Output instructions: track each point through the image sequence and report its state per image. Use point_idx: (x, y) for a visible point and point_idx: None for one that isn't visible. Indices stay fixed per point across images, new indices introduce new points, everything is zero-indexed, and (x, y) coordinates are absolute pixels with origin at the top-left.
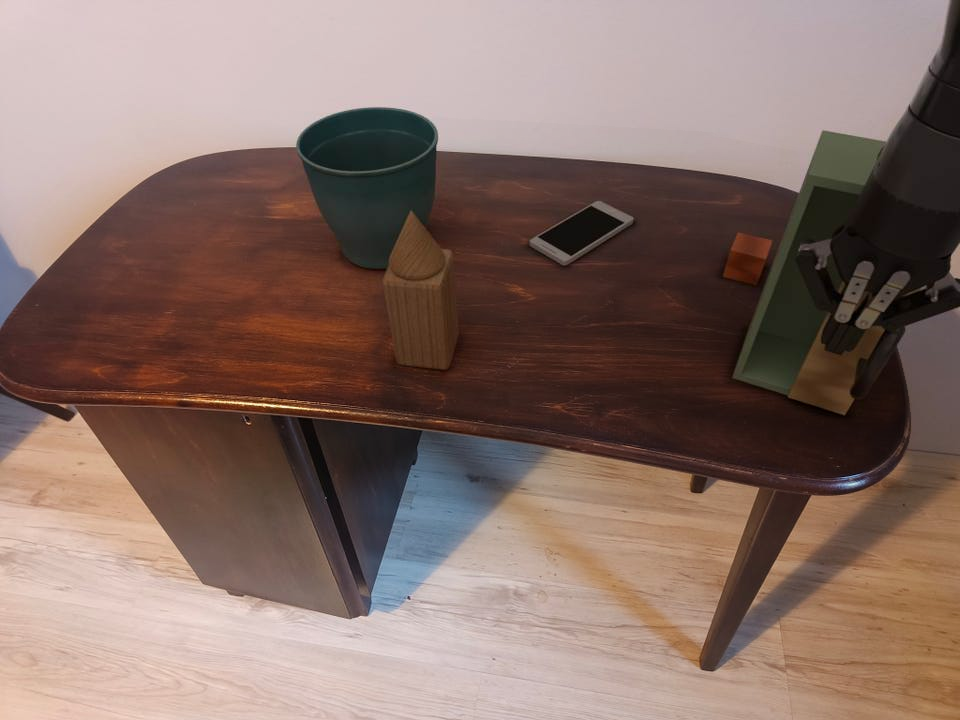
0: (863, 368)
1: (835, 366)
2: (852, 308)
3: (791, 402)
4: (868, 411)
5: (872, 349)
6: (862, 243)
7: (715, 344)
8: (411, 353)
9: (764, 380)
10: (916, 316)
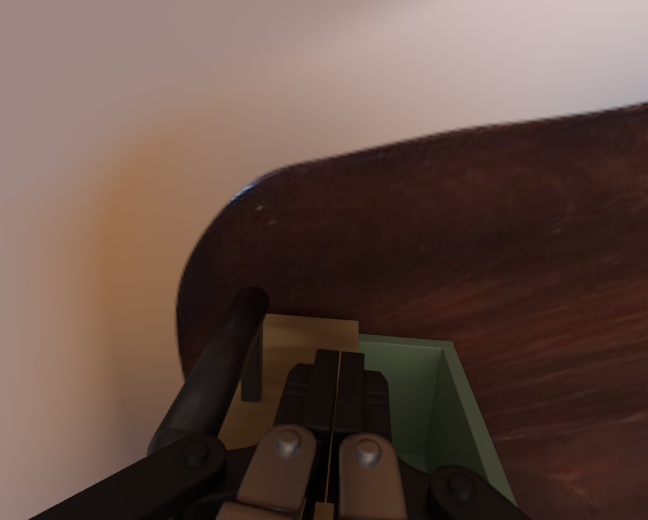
0: (252, 340)
1: None
2: (348, 496)
3: None
4: None
5: (237, 423)
6: None
7: (486, 407)
8: None
9: (400, 347)
10: (87, 511)
